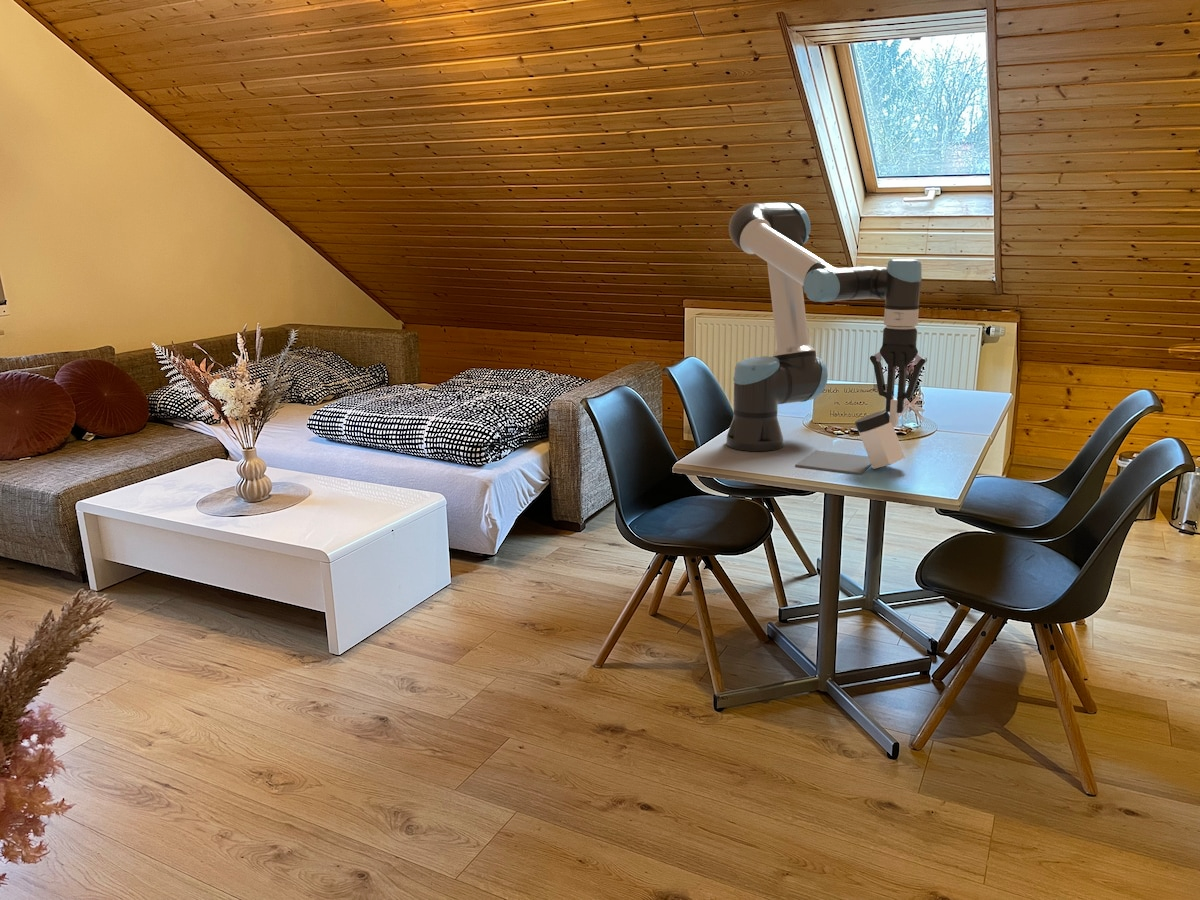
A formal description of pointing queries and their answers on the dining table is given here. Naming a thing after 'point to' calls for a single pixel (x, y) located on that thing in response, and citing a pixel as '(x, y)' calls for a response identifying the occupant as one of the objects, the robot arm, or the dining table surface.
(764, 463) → the dining table surface
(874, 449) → the jar
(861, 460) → the mat
